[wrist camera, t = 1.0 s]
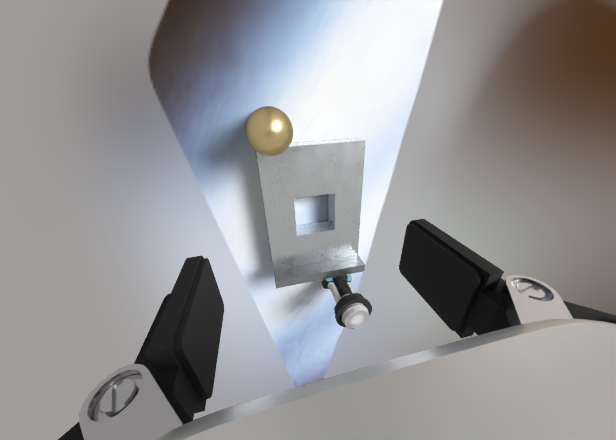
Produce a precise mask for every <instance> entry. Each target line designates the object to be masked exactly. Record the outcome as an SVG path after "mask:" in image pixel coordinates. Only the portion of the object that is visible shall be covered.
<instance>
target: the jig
mask: <svg viewBox="0 0 616 440" xmlns="http://www.w3.org/2000/svg"><path fill="white" fill-rule="evenodd" d="M364 153H365V140H362V139H358V138H347V139H335V140H322V141H309V142H297V143H290V145H289V147H288V148H287V149H286V150H285V151H284V152H283V153H281V154H279V155H276V156H266V155H263V154H261V153H259V152H257V151H256V156H257V162H258V169H259V176H260V182H261V189H262V196H263V202H264V209H265V216H266V222H267V229H268V236H269V242H270V249H271V255H272V262H273V269H274V276H275V284H276V288H280V287H285V286H290V285H295V284H300V283H305V282H311V281H316V280H321V279H326V278H331V277H336V276H341V275H346V274H351V273H357V272H362V271H364V267H365V264H364V263H363V261H362V260H361V259H360V257H359V256H358V241H359V226H360V212H361V197H362V182H363V168H364ZM325 194H328V221H323V222H317V223H310V224H303V225H296V222H295V209H294V198H301V197H309V196H317V195H325Z"/></svg>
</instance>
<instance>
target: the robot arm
mask: <svg viewBox="0 0 616 440" xmlns="http://www.w3.org/2000/svg"><path fill="white" fill-rule="evenodd" d="M399 270H400V272H401V274H402V275H403V276H404V277H405V278H406V279H407V281H408V282H409V283H410V284H411V285H412V286H413V287H414V288H415V290H416V291H417V292H418V293H419V294H420V295H421V296H422V298H423V299H424V300H425V301H426V302H427V303H428V304H429V305H430V307H431V308H432V309H433V310H434V311H435V312H436V313H437V314H438V315H439V317H440V318H441V319H442V320H443V321H444V322H445V323H446V325H447V326H448V327H449V328H450V329H451V330H453V331H455V332H456V333H457V334H458V335H459V336H460V337H461V338H464V337H467V336H471V335H473V333H474V332H475V333H476V334H477V335H478V336H475V337H471V338H467V339H464V340H461V341H456V342H453V343H450V344H446V345H442V346H438V347H435V348H431V349H428V350H424V351H421V352H417V353H413V354H410V355H406V356H403V357H399V358H396V359H392V360H389V361H385V362H382V363H378V364H375V365H371V366H368V367H364V368H361V369H357V370H353V371H350V372H347V373H343V374H340V375H336V376H333V377H329V378H326V379H322V380H319V381H315V382H312V383H308V384H305V385H302V386H298V387H295V388H291V389H288V390H284V391H281V392H277V393H274V394H271V395H268V396H265V397H261V398H258V399H255V400H252V401H248V402H245V403H242V404H239V405H235V406H232V407H229V408H226V409H223V410H220V411H217V412H214V413H212V414H209V415H206V416H203V417H201V418H198V419H195V420H193V417H194V413H198V412H201V411H204V410H205V405H206V399H208V398H211V396H212V392H213V384H214V378H215V371H216V362H217V356H218V349H219V342H220V334H221V328H222V321H223V313H224V304H223V300H222V298H221V295H220V292H219V289H218V286H217V283H216V280H215V277H214V274H213V271H212V268H211V265H210V262H209V260H208V259H207V258H206V259H204V258H203V256H197V257H191V258H187V259H186V260H185V263H184V265H183V267H182V269H181V272H180V274H179V277H178V279H177V281H176V283H175V286H174V288H173V290H172V292H171V294H168V295H167V296H166V297H165V298H164V300H163V302H162V304H161V307H160V309H159V311H158V313H157V315H156V317H155V320H154V322H153V324H152V326H151V328H150V331H149V333H148V335H147V337H146V339H145V341H144V343H143V346H142V348H141V350H140V352H139V354H138V356H137V359H136V361H135V363H134V364H132V365H127V366H125V367H122V368H120V369H118V370H116V371H115V372H113V373H111V374H110V375H108V376H107V377H106V378H105V379H104V380H102V381H101V382H100V383H99V384H98V385H97V386H96V387H95V388H94V389H93V390H92V392H91V393H90V394H89V395H88V397H87V399H86V400H85V402H84V403H83V406H82V408H81V411H80V414H79V422H78V423H77V424H76V425H75V426H74V427H72V428H71V429H70V430H69V431H68V432H67V433H65V435H63V436H62V437H61V438H59V439H58V440H616V316H615V315H612V314H608V313H604V312H601V311H598V310H594V309H590V308H587V307H583V306H579V305H576V304H573V303H569V302H566V301H562V299H561V297H560V296H559V294H558V293H557V292H556V291H555V290H554V289H552V288H551V287H550V286H548V285H547V284H545V283H543V282H542V281H539V280H537V279H534V278H531V277H528V276H523V275H511V276H508V277H507V278H506V280H505V281H504V280H503V279H501V276H502V274H503V271H502V270H501V269H499V268H498V267H496V266H494V265H493V264H492V263H490V262H489V261H487V260H486V259H484V258H482V257H481V256H479V255H478V254H476V253H475V252H473V251H472V250H470V249H469V248H467V247H466V246H464V245H463V244H461V243H460V242H458V241H457V240H455V239H454V238H452V237H450V236H449V235H448V234H446V233H445V232H443V231H442V230H440V229H438V228H437V227H436V226H434V225H433V224H431V223H429V222H428V221H426V220H425V219H419V220H413V221H411V222H410V223H409V224H408V225H407V228H406V233H405V239H404V244H403V249H402V255H401V260H400V265H399Z"/></svg>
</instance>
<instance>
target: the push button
mask: <svg viewBox="0 0 616 440" xmlns="http://www.w3.org/2000/svg"><path fill="white" fill-rule="evenodd" d="M351 280H352V277H351V275H350V274H346V275H341V276H336V277H331V278H326V279H321V280H319V281H322V285H323V287H324V288H325V289H330V290H331V292H332V294H333V297H334V299H335V301H336V306H335V308H334V309H335V314H336V315H335V318H336V321H337V323H338V324H339V325H340V326H343V327H348V328H350V329H355V328H359V327H361V326H363V325H364V324H366V322H367V321H368V320H369V316H370V314H371V311H372V306H371V304H370V302H369V301H368V300H367V299H365V298H364V297H363V296H362V295H361V294H358V293H356V292H355V291H354V289H353V287H352V284H351Z"/></svg>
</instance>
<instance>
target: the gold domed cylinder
mask: <svg viewBox="0 0 616 440" xmlns="http://www.w3.org/2000/svg"><path fill="white" fill-rule="evenodd" d="M246 134H247V138H248V141H249V143H250V144H251V146H252V147H253V148H254V149H255V150H256V151H257V152H259V153H261V154H263V155H266V156H276V155H279V154H281V153H283V152H284V151H285V150H286V149H287V148H288V147H289V145H290V143H291V141H292V137H293V128H292V124H291V122H290V120H289V118H288V117H287V115H286V114H285V113H284V112H283V111H281V110H280V109H277V108H275V107H269V106H267V107H261V108H259V109H257V110H256V111H254V112H253V113H252V114H251V116H250V117H249V119H248V122H247V126H246Z"/></svg>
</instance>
